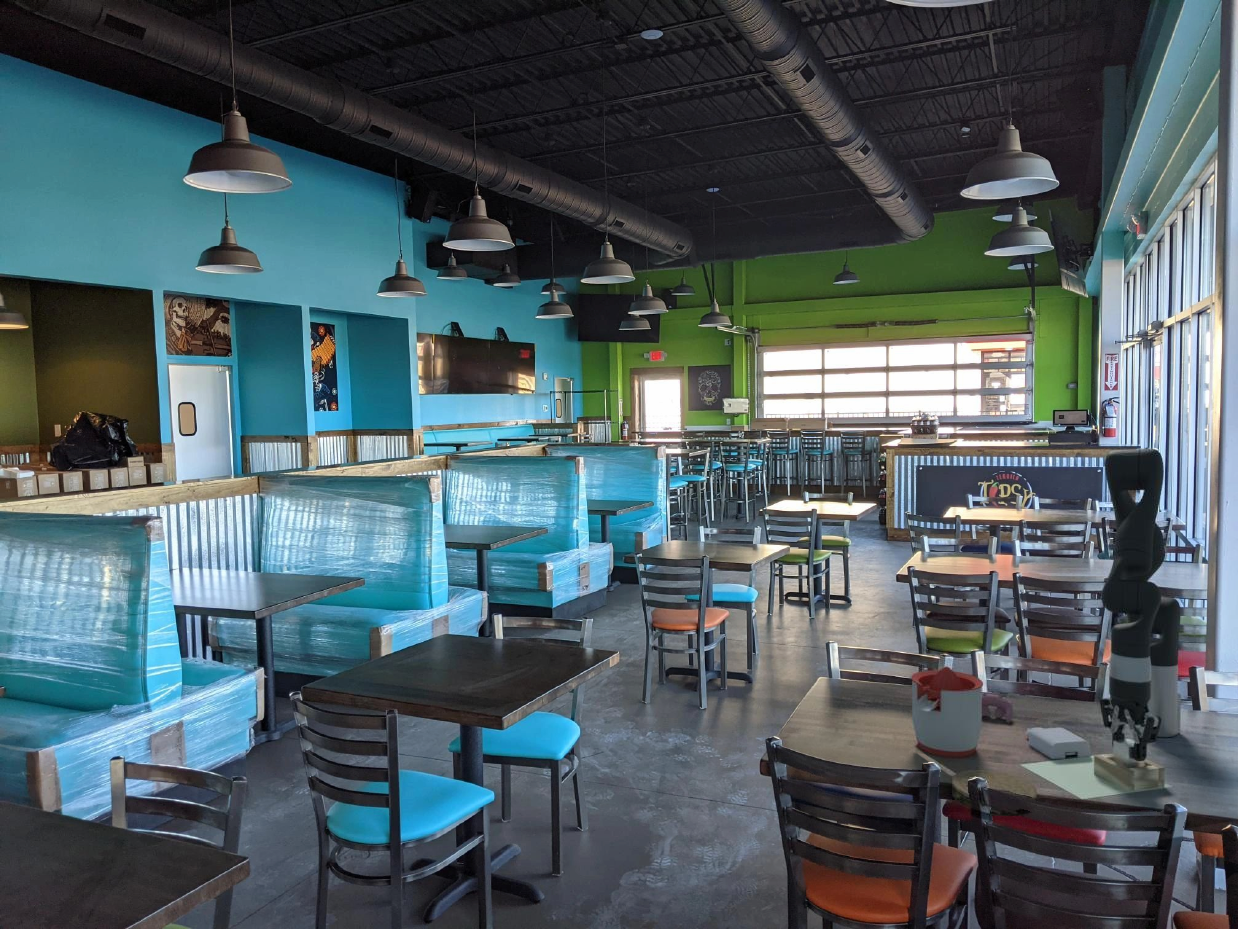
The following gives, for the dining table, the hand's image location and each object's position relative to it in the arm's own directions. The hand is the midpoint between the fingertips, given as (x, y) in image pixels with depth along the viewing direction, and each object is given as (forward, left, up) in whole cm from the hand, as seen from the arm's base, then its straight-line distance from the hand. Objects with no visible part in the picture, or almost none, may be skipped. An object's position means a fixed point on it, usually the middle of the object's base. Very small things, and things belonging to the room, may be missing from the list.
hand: (1128, 755), depth 180 cm
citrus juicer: (+26, -26, -7) cm, 37 cm away
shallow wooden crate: (0, 0, -5) cm, 5 cm away
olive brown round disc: (+31, -2, -7) cm, 32 cm away
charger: (+2, -21, -7) cm, 22 cm away
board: (+5, -4, -6) cm, 9 cm away
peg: (0, 0, -5) cm, 5 cm away
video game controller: (+1, -43, -7) cm, 44 cm away
